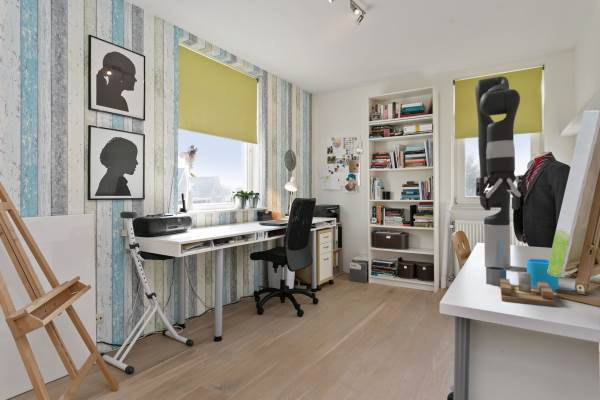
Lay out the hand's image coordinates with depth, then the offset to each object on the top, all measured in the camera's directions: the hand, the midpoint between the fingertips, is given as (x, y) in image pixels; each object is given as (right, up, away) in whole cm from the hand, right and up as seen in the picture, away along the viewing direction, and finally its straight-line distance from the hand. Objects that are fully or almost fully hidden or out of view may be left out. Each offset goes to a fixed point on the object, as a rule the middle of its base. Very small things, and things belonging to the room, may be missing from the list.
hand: (501, 209), depth 107 cm
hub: (+3, -25, +9) cm, 26 cm away
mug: (+16, -25, +5) cm, 30 cm away
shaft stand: (+3, -25, -6) cm, 26 cm away
